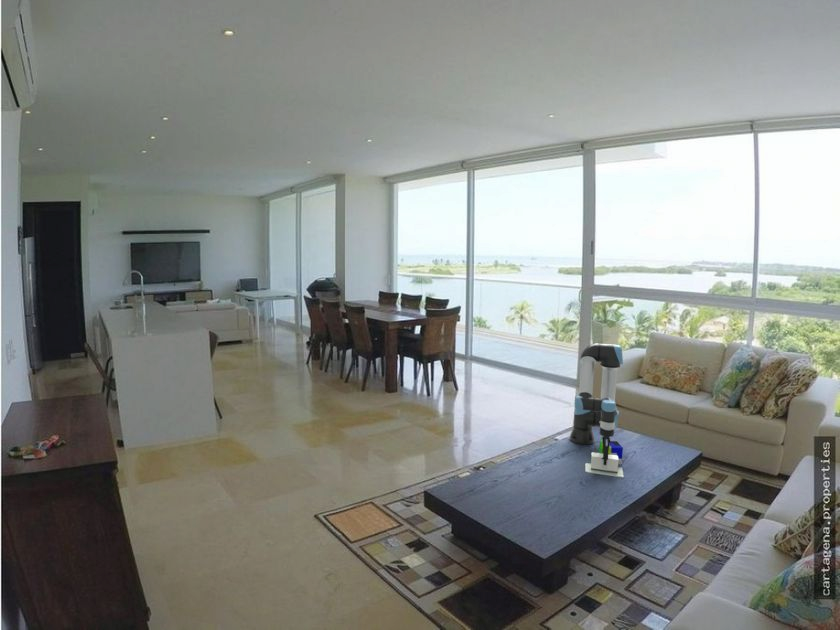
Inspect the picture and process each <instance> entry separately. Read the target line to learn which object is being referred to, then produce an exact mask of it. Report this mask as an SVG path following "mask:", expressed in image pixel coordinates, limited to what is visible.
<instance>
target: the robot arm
mask: <svg viewBox="0 0 840 630" xmlns="http://www.w3.org/2000/svg"><path fill="white" fill-rule="evenodd" d="M623 358H624V357H623V348H622V346H621V345H619V344H610V343H599V342H598V343H591V344H589V345H588V346H586V347H585V348H584V349H583V351H582V353H581V354H580V358H579V362H580V364H581V365H580V377H579V390H578V395H575V398H574V412H573V428H572V430H571V432H570V435H569V440H570V441H571V442H573V443H575V444H577V445H586V446H587V445H593V444H594V443H595V436H594V432H593V427H594V428H595V427H596V428H599V435H601V436H602V438H601V441H603V442H602V443H603V448H602V453H603V458H602V459H603V460H602V470H607V463H608V451H609V443H610V441H611V438H612V437H614V435H615V428H617V425H618V421H619V416H620V411H619V410H617V409H618V408H617V402H616V391H617V378H618V369H619V368H621V365H623V364H624V362H623V361H624V360H623ZM597 363H599V364H600V367H601V368H602V373H601V386H600V387H601V389H600V398H597V397H593V391H594V390H593V389H594V375H595V365H596V364H597ZM610 437H611V438H610Z"/></svg>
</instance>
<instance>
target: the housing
mask: <svg viewBox="0 0 840 630" xmlns="http://www.w3.org/2000/svg"><path fill="white" fill-rule="evenodd" d="M602 458H603V454H601V453H599V452H593V451H592V452H591V458H590V459H591V460H590V464H591V468H593V469H601V470H602V460H603V459H602ZM618 461H619V459H618V456H617V455H609V454H608V463H607V470H608V471H615V472H618V468H619V464H618Z"/></svg>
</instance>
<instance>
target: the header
mask: <svg viewBox="0 0 840 630" xmlns="http://www.w3.org/2000/svg"><path fill="white" fill-rule="evenodd" d="M584 464H585V468H584V471H585V473H587V474H588V473H589V474H595V475H603V476H609V477H610V476H611V477H616V478H622V479H623V478H625V477H624V470H623V467H618V472H615V471H608V470H601V469H593V468H591V463H590V462H589V463H587V462H586V463H584Z"/></svg>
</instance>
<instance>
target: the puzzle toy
mask: <svg viewBox="0 0 840 630" xmlns="http://www.w3.org/2000/svg"><path fill="white" fill-rule="evenodd" d="M602 442H603V440H600V441H599V448H598V449H599V451H598V453H601V454H603V453H602V448H603V443H602ZM623 451H624V448H623V446H622V445H621V444H620V443H619V442H618V441H617V440H610V443H609V451H608V454H609V455H617V456H618V459H619V461H618V465H622V464H623Z"/></svg>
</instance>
